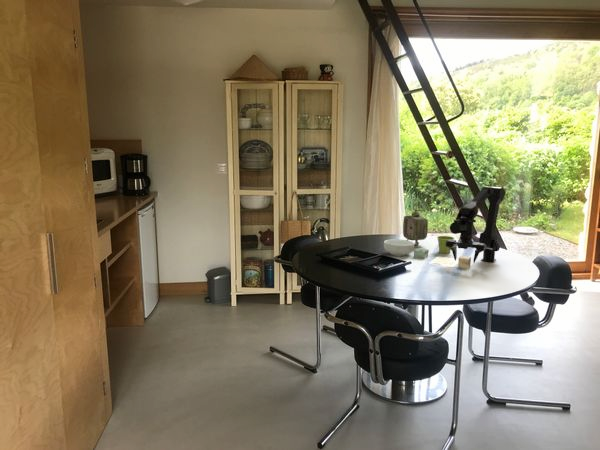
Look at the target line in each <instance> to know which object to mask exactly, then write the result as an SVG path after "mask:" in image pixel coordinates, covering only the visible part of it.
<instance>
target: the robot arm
mask: <svg viewBox="0 0 600 450" xmlns="http://www.w3.org/2000/svg"><path fill="white" fill-rule="evenodd" d="M505 196H506V190H505V188H504V187H500V186H498V187H497V186H489V185H484V186H482V187H481V190H480V191H479V192H478V193H477V195H475V196H474V198H473V199H472V200H471V201H470V202H468V203H465V204H464V205H463V206H461V208H460V209H459V211H458V213H457V215H456V216H455V217H456V218H455V219H454V220H453V222H452V223H451V224H450V226H449V230H450V232H451V233H452V234H453V235H457V234H459V238H458V240H456V239H453V240H448V241H447V242H446V247H448V248H450V249H451V252H452V255H453V256H452V257H453V259H455V261H456V259H457V251H458V250H457V249H464V250H467V249H468V248H473V249H475V250H474V256H473V260H472V261H473V264H475V262H476V261H477V258H478V256H479V254H480V253H482V252H483V253H482V254H483V255H482V258H481V259H480V261H481V262H486V263H487V262H488V263H495V262H496V261H497V259H496V258H495V257H496V255H495V254H496V252H499V250H500V248H501V246H500V244H499V243H498V237H497V233H496V227H497V222H498V221H497V220H498V215H499V210H500V205H501V203H502V202H503V201H504V200H505ZM486 200H487V201H488V203H489V204H488V209H487V215H486V222H485V228H484V230H483V231H482V232H480V233H479V238H478V242H477V243H476V244H475V243H474V241H473V235H474V223H476V222H477V220H475V218H476V217H477V215H478V214H479V208H480V207H481V206H482V205H483V204H484V203H485V201H486Z"/></svg>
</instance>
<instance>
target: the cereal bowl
mask: <svg viewBox="0 0 600 450" xmlns="http://www.w3.org/2000/svg"><path fill="white" fill-rule="evenodd" d="M414 244H415V242H414V241H412V240H408V241H407V239H398V238H397V239H395V238H394V239H386V240H384V242H383V248H384V250H385V251H386V252H388V253H389V254H391V256H395V257H397V256H398V257H403V256H406V255H408V254H410V253H412V252H414V250H415V249H414V248H415V246H414Z"/></svg>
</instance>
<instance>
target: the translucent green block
mask: <svg viewBox="0 0 600 450" xmlns="http://www.w3.org/2000/svg"><path fill="white" fill-rule="evenodd" d="M429 250H430V249H427V248H426V249H425V248H420V247H419V248H418V247H417V248H416V249H413V258H417V259H424V260H425V259H427V258H428V257H429Z"/></svg>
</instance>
